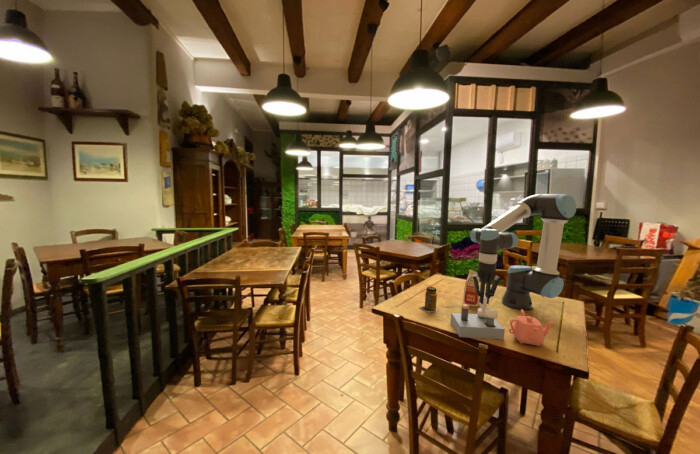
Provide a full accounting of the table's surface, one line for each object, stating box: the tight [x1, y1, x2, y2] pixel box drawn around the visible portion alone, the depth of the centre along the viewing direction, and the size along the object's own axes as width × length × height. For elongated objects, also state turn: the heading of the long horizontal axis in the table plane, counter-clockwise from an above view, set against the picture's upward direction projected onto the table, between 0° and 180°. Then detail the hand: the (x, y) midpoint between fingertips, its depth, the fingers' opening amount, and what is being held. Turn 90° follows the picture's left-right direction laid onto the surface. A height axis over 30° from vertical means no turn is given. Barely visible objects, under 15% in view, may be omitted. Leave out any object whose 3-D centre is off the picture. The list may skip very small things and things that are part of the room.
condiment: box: [419, 286, 440, 314], centre depth 150 cm, size 7×8×12 cm
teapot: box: [508, 309, 556, 346], centre depth 119 cm, size 14×14×11 cm
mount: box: [450, 312, 506, 341], centre depth 127 cm, size 19×14×5 cm
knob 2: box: [485, 307, 498, 327], centre depth 122 cm, size 5×5×8 cm
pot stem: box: [460, 303, 470, 321], centre depth 127 cm, size 3×3×7 cm
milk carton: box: [462, 269, 481, 308], centre depth 159 cm, size 9×9×20 cm
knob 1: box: [476, 307, 487, 319], centre depth 130 cm, size 5×5×8 cm
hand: (483, 309), depth 130 cm, fingers closed
